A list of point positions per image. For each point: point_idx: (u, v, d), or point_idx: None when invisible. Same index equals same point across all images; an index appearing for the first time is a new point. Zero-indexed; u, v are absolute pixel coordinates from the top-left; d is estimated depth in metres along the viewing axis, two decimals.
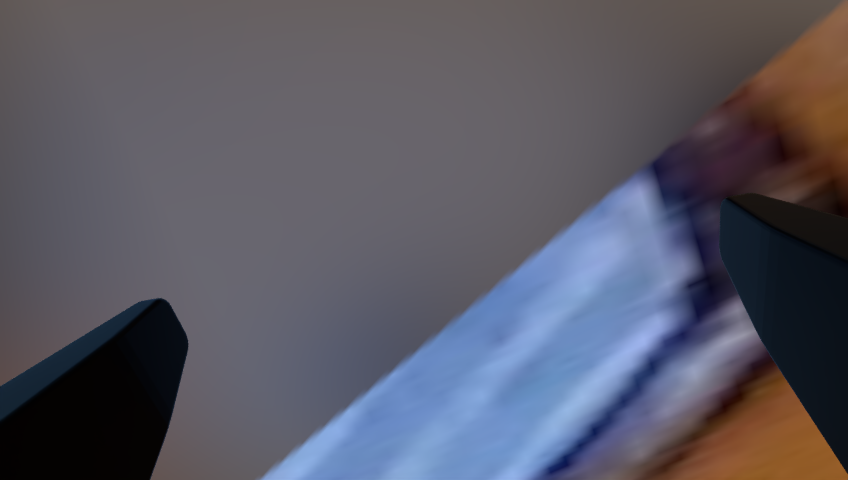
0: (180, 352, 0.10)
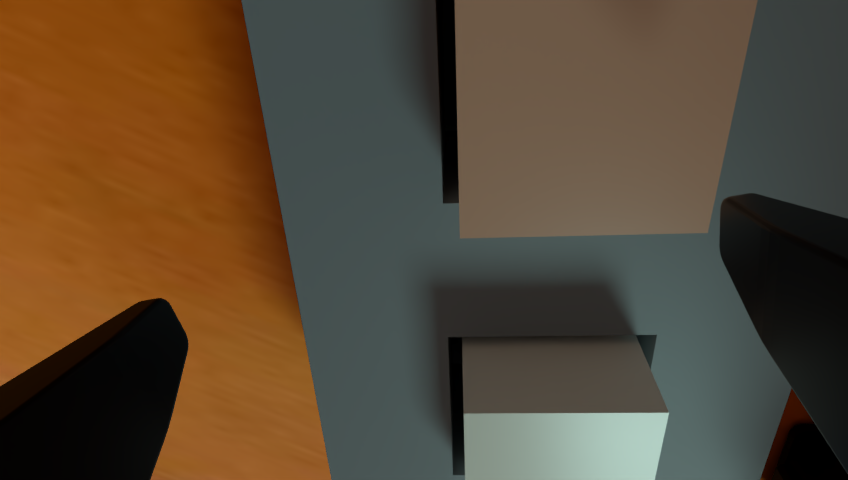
0: (180, 352, 0.10)
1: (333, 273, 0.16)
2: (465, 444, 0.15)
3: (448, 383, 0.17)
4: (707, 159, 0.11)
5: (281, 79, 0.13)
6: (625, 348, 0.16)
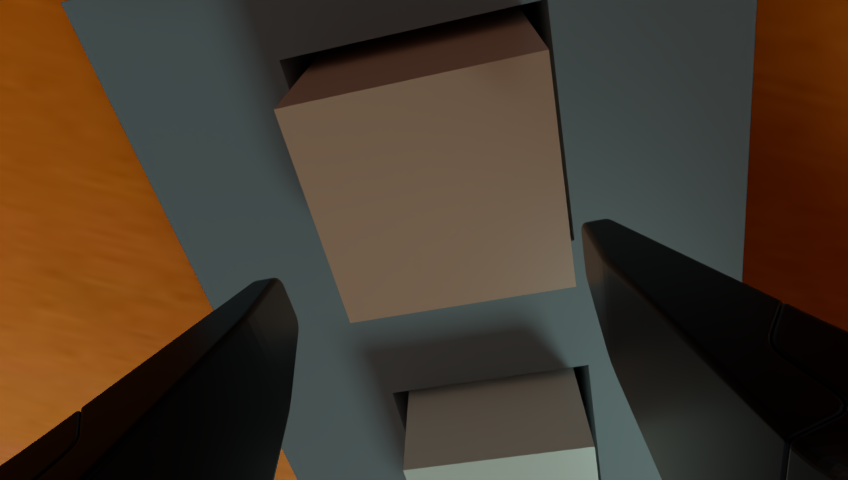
0: (293, 333, 0.10)
1: None
2: None
3: (404, 433, 0.18)
4: (554, 224, 0.12)
5: (179, 196, 0.14)
6: (561, 381, 0.17)
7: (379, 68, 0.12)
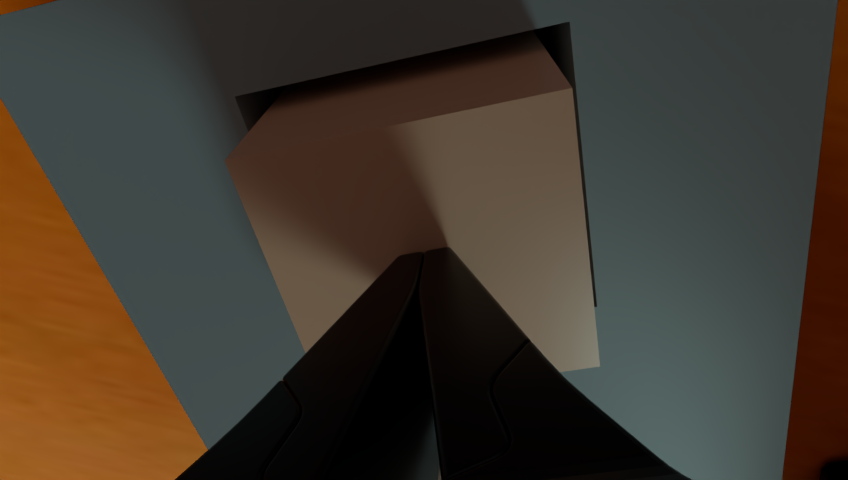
0: None
1: None
2: None
3: None
4: (574, 296, 0.10)
5: (121, 255, 0.12)
6: None
7: (359, 104, 0.09)
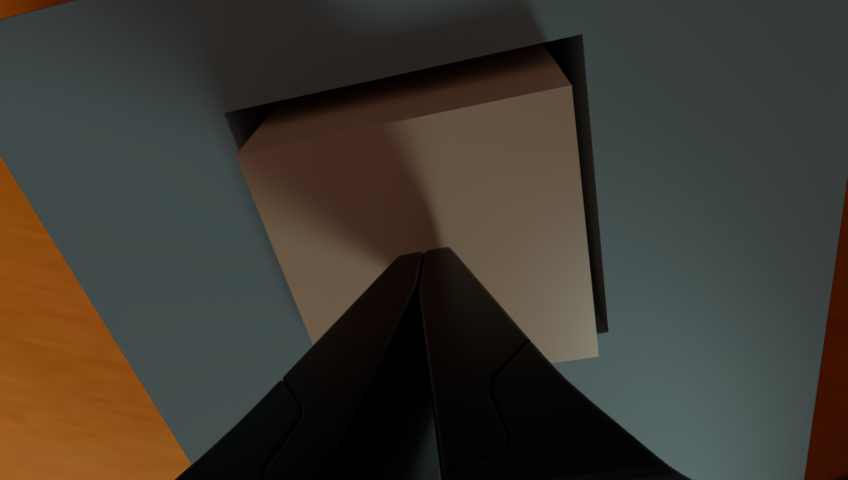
0: None
1: None
2: None
3: None
4: (574, 287, 0.10)
5: (105, 278, 0.11)
6: None
7: (365, 101, 0.10)
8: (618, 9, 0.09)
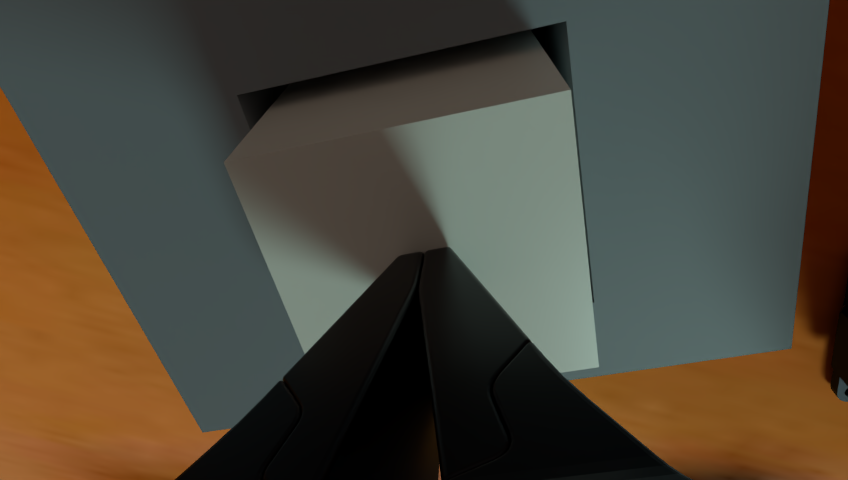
0: None
1: (18, 3, 0.10)
2: (252, 226, 0.09)
3: None
4: None
5: None
6: (517, 55, 0.10)
7: None
8: None
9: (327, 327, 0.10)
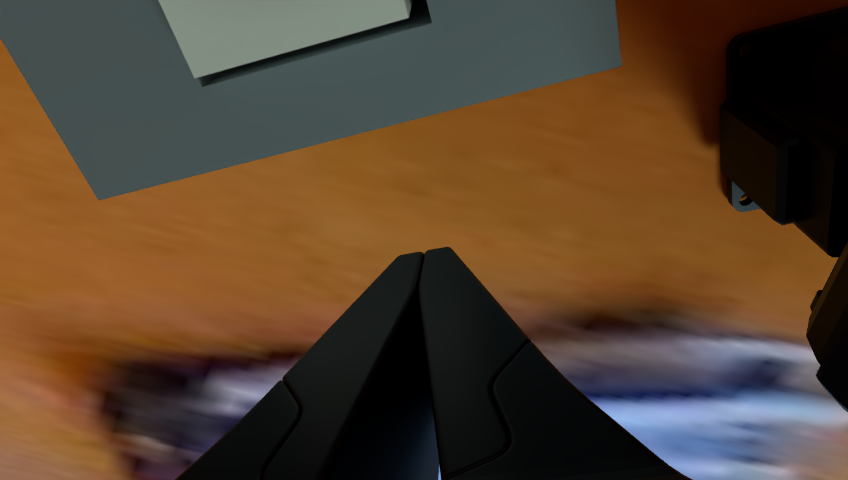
0: None
1: None
2: None
3: None
4: None
5: None
6: None
7: None
8: None
9: None
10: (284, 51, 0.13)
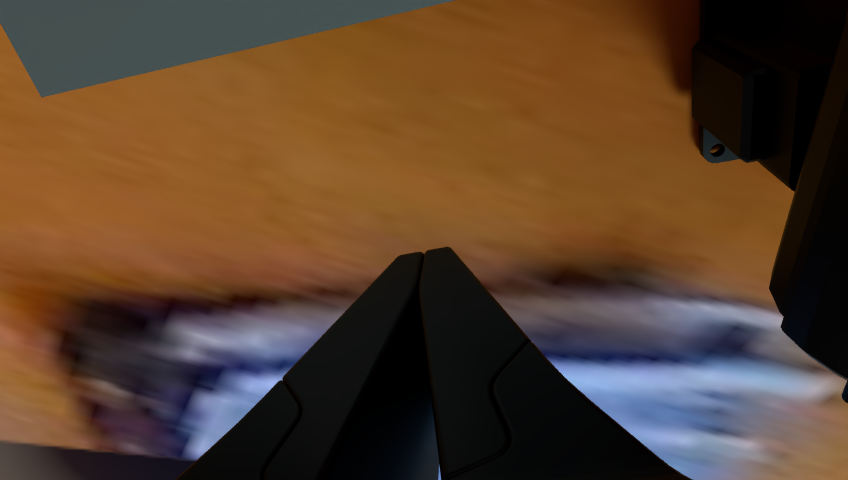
0: None
1: None
2: None
3: None
4: None
5: None
6: None
7: None
8: None
9: None
10: None
